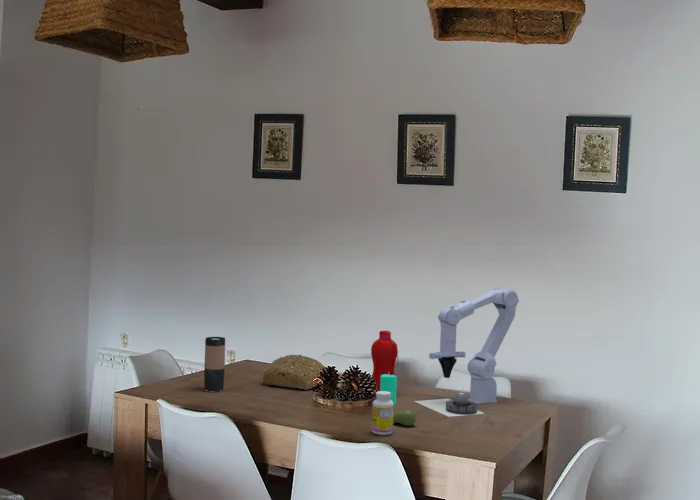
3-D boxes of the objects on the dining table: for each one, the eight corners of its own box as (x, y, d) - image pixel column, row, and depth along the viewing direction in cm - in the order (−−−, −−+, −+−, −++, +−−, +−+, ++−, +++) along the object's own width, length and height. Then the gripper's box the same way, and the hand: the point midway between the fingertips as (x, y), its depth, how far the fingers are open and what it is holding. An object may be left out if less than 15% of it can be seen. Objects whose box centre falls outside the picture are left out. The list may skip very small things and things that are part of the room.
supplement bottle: (370, 429, 253) (371, 390, 253) (391, 430, 254) (392, 390, 254) (372, 435, 247) (374, 394, 246) (393, 435, 247) (395, 395, 247)
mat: (448, 399, 301) (448, 398, 301) (485, 414, 279) (485, 413, 279) (414, 402, 294) (414, 401, 294) (448, 417, 273) (448, 416, 273)
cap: (461, 405, 286) (461, 391, 285) (471, 408, 282) (471, 394, 281) (450, 407, 283) (451, 392, 282) (460, 410, 279) (461, 395, 278)
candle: (394, 406, 286) (395, 373, 286) (378, 405, 287) (379, 372, 287) (397, 403, 292) (398, 370, 292) (380, 401, 293) (382, 369, 293)
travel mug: (228, 390, 304) (229, 338, 303) (214, 393, 298) (216, 340, 297) (213, 387, 308) (214, 336, 307) (199, 390, 302) (200, 338, 301)
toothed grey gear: (465, 406, 289) (465, 399, 289) (483, 413, 279) (483, 405, 279) (439, 408, 285) (440, 401, 284) (456, 415, 275) (456, 408, 274)
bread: (256, 386, 314) (257, 356, 313) (283, 377, 333) (284, 348, 333) (311, 393, 304) (312, 362, 303) (335, 384, 323) (336, 354, 323)
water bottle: (389, 400, 296) (392, 333, 295) (365, 395, 302) (368, 330, 301) (403, 396, 303) (405, 331, 302) (379, 392, 310) (382, 328, 309)
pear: (410, 411, 257) (383, 412, 262) (412, 427, 257) (385, 428, 261) (417, 408, 262) (390, 408, 266) (419, 424, 261) (392, 424, 266)
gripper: (458, 338, 299) (457, 374, 300) (425, 339, 293) (424, 376, 293) (469, 341, 293) (467, 378, 293) (435, 342, 286) (434, 380, 287)
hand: (446, 377), depth 293 cm, fingers closed
